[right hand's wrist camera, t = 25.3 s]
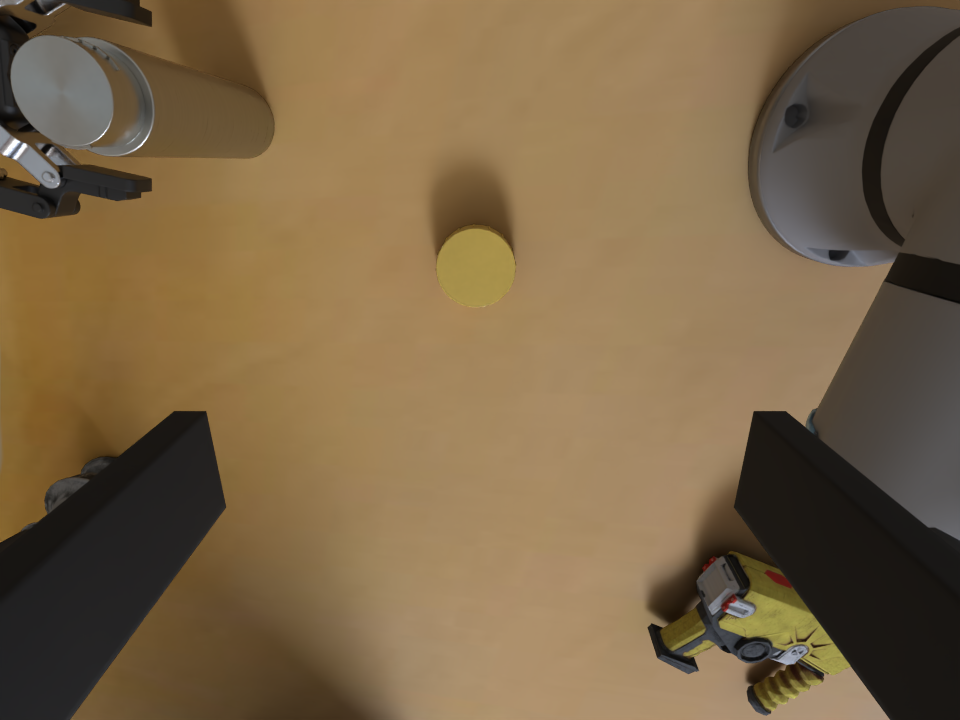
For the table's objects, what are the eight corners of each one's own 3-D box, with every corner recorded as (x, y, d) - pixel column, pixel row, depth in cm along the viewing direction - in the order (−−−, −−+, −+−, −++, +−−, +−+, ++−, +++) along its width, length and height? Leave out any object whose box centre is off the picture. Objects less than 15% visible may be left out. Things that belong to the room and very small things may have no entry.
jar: (197, 88, 34) (-22, 31, 19) (265, 80, 33) (97, 16, 19) (216, 162, 35) (29, 162, 20) (281, 154, 35) (139, 149, 20)
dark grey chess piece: (75, 502, 45) (-61, 616, 33) (79, 445, 43) (-64, 546, 31) (145, 520, 45) (35, 638, 34) (152, 464, 43) (38, 570, 32)
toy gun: (842, 753, 51) (965, 668, 45) (637, 689, 47) (745, 584, 41) (814, 704, 56) (924, 620, 50) (624, 640, 51) (720, 538, 45)
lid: (529, 270, 38) (532, 276, 36) (469, 314, 39) (468, 323, 37) (483, 207, 36) (483, 210, 34) (422, 255, 37) (419, 261, 35)
